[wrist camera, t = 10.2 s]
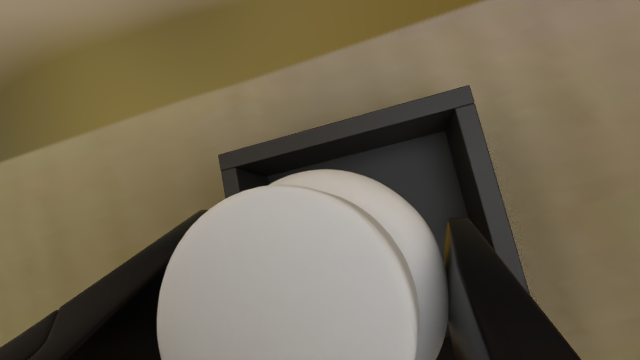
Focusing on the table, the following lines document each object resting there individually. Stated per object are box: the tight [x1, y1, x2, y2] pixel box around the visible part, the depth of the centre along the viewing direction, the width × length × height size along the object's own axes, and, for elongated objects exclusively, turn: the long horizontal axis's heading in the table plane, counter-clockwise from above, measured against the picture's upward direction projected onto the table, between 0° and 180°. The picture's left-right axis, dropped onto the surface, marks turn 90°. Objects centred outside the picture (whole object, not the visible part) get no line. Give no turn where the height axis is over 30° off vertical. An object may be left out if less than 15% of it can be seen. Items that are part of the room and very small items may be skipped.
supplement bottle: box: [157, 169, 448, 360], centre depth 10 cm, size 5×5×10 cm
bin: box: [218, 85, 530, 360], centre depth 17 cm, size 12×12×4 cm
